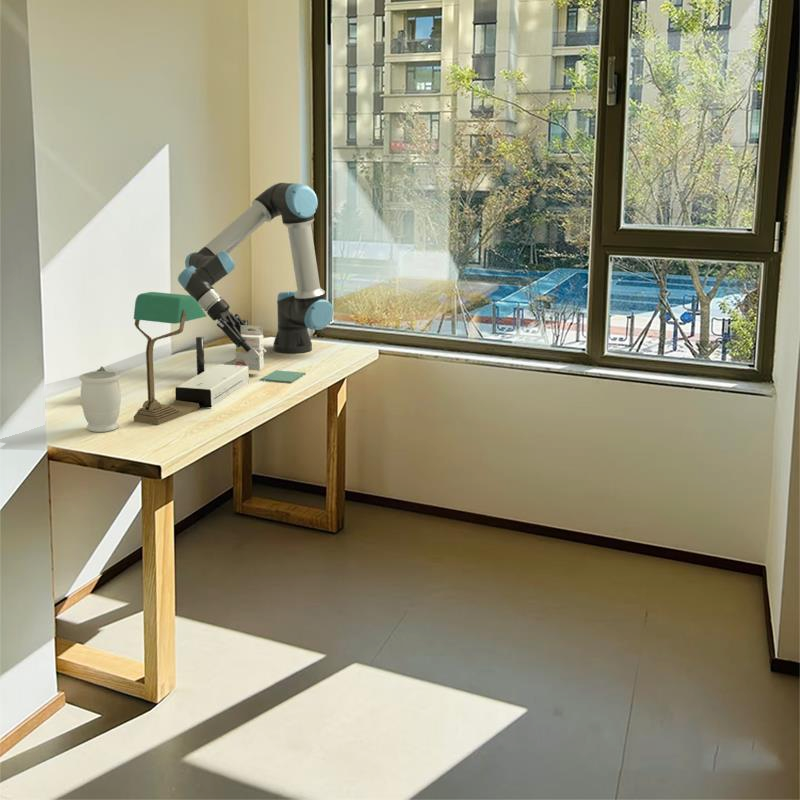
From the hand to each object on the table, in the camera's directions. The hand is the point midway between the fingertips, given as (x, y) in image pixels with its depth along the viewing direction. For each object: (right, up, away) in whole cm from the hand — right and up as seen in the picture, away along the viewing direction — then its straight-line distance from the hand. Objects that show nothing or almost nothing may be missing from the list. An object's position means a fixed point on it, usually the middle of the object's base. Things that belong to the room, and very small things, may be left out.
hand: (260, 355), depth 318 cm
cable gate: (-13, -6, +5) cm, 15 cm away
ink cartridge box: (-4, -5, +2) cm, 6 cm away
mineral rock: (-43, -15, -32) cm, 55 cm away
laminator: (-11, -14, -24) cm, 30 cm away
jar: (-34, -23, -64) cm, 76 cm away
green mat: (+8, -8, 0) cm, 11 cm away
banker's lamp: (-19, -20, -49) cm, 56 cm away
